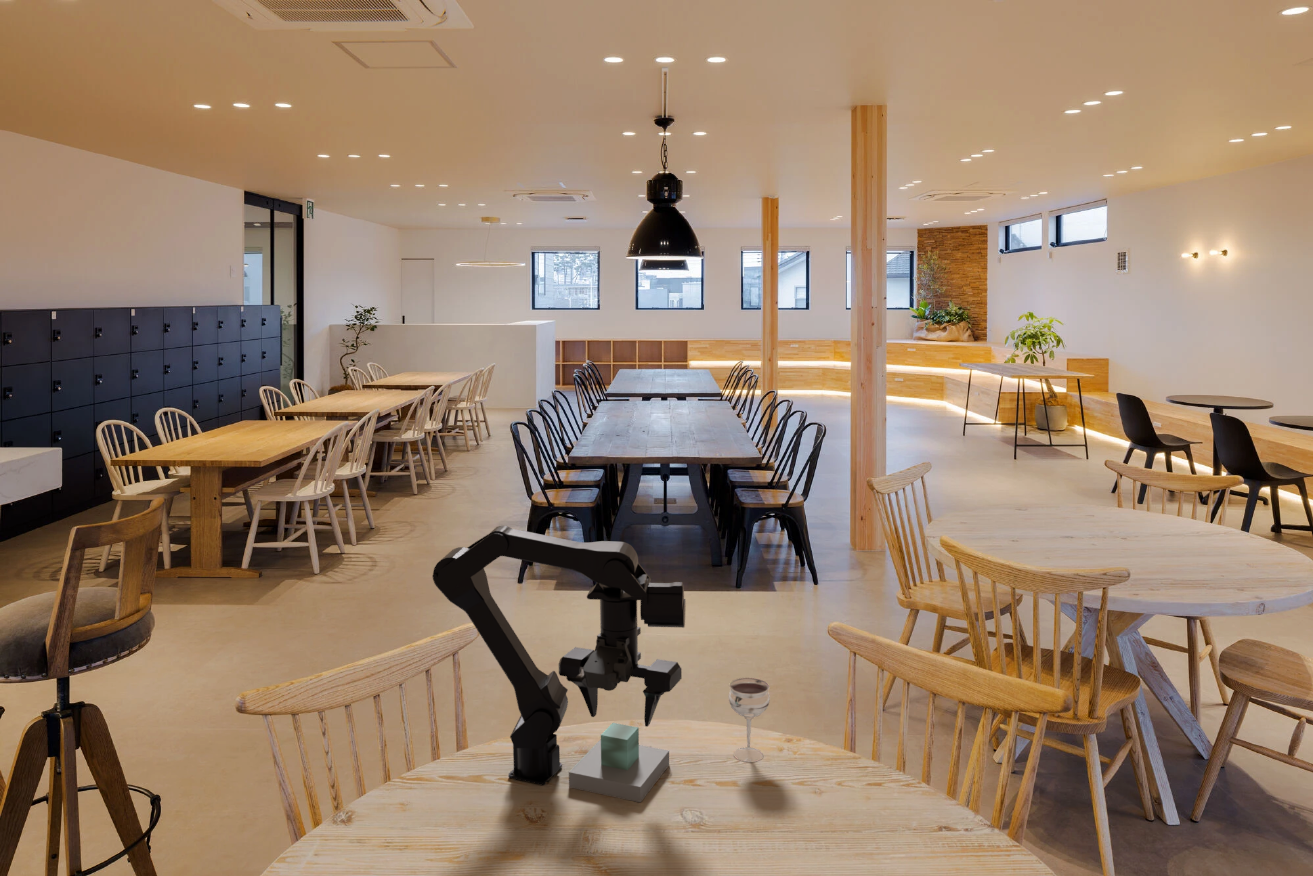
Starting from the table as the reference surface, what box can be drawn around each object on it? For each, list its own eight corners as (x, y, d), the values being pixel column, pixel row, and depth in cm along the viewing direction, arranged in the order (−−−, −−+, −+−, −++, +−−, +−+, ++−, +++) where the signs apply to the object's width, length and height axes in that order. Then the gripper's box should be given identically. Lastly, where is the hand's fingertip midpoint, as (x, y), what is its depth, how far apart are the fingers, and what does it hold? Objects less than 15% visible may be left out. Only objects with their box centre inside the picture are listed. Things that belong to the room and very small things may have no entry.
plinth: (569, 787, 140) (568, 772, 140) (602, 751, 151) (601, 737, 151) (640, 802, 135) (640, 787, 135) (669, 765, 146) (669, 750, 146)
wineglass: (722, 760, 148) (723, 690, 146) (735, 741, 154) (735, 674, 152) (762, 768, 145) (763, 697, 144) (773, 749, 152) (774, 681, 150)
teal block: (601, 765, 142) (600, 734, 141) (613, 751, 146) (612, 722, 145) (627, 770, 140) (627, 740, 139) (638, 757, 144) (638, 727, 143)
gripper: (540, 635, 136) (542, 733, 138) (655, 651, 129) (656, 754, 131) (573, 611, 146) (575, 703, 148) (682, 626, 139) (682, 722, 141)
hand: (620, 720), depth 142 cm, fingers open, 9 cm apart
